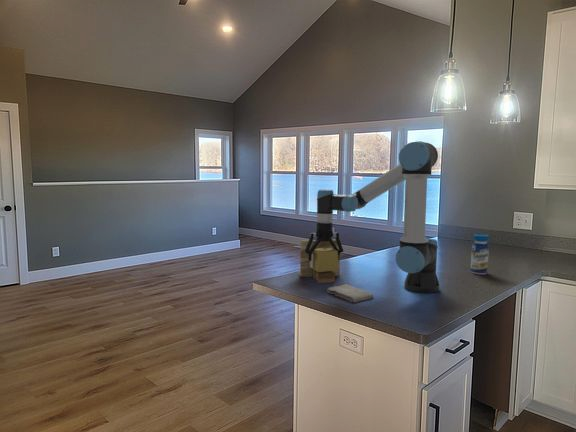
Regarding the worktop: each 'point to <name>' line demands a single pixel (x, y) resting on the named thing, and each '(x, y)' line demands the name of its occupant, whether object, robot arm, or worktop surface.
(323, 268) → the cheese
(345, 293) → the washcloth
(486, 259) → the beverage bottle
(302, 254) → the wall board
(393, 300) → the worktop surface
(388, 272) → the worktop surface
